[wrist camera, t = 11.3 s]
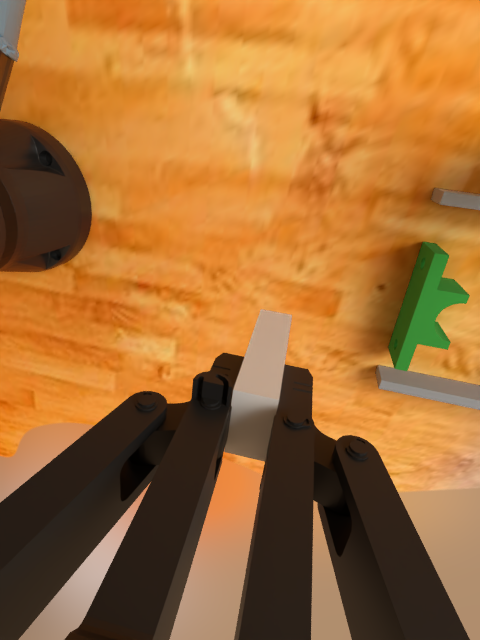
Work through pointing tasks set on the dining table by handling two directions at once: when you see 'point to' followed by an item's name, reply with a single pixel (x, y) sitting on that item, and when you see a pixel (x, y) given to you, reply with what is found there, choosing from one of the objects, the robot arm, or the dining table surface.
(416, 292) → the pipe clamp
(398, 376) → the grey bent bar frame
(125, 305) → the dining table surface
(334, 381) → the dining table surface
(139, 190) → the dining table surface
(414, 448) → the dining table surface
